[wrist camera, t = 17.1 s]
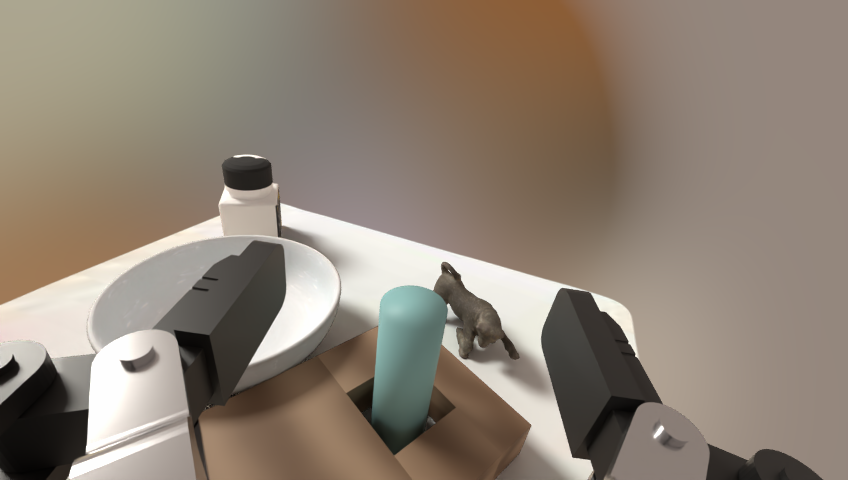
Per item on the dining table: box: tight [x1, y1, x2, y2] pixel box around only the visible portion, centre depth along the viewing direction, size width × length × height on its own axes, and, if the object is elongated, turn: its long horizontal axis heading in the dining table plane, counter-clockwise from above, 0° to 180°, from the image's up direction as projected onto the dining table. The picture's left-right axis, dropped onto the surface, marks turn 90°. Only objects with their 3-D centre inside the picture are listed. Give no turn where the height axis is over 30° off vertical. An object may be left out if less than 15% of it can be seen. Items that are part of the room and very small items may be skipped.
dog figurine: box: [433, 262, 519, 360], centre depth 41 cm, size 12×6×7 cm, turn 34°
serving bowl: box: [87, 235, 341, 395], centre depth 37 cm, size 21×21×7 cm
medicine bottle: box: [219, 155, 282, 238], centre depth 53 cm, size 7×7×12 cm
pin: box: [371, 286, 448, 455], centre depth 29 cm, size 5×5×14 cm
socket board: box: [199, 326, 531, 480], centre depth 29 cm, size 22×16×4 cm
